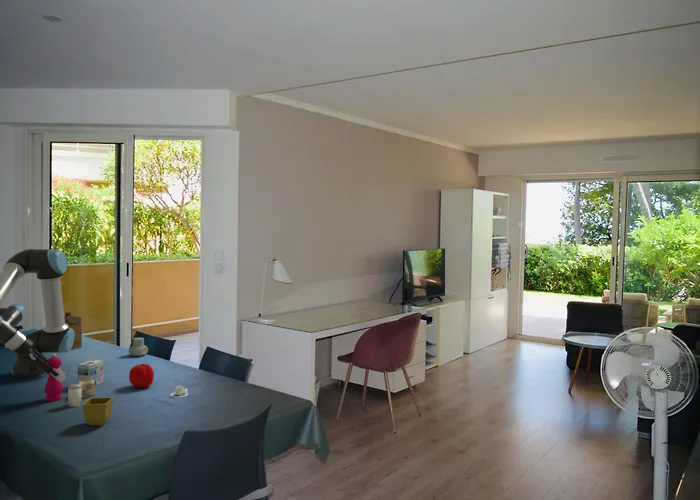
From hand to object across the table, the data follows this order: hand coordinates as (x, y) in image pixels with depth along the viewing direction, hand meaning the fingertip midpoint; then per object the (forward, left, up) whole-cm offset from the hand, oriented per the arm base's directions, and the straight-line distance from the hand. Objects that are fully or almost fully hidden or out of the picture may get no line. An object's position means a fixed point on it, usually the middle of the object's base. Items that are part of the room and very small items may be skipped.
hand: (63, 378), depth 245 cm
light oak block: (-5, +8, -9) cm, 13 cm away
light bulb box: (-21, +2, -9) cm, 23 cm away
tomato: (-20, +27, -9) cm, 35 cm away
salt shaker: (+9, +10, -9) cm, 16 cm away
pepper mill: (+2, -3, -9) cm, 10 cm away
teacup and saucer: (-10, +51, -10) cm, 53 cm away
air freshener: (-82, 0, -9) cm, 83 cm away
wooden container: (-98, -50, -9) cm, 111 cm away
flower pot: (+30, +30, -9) cm, 43 cm away
